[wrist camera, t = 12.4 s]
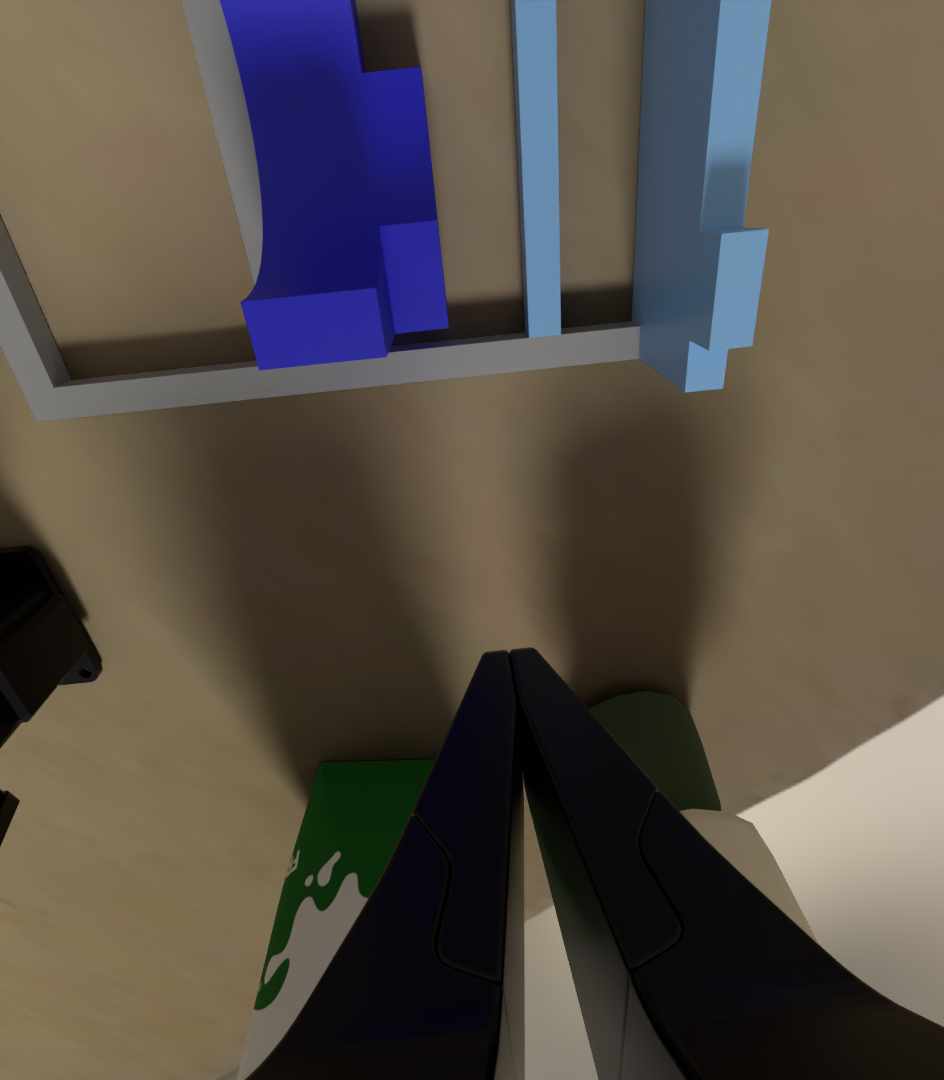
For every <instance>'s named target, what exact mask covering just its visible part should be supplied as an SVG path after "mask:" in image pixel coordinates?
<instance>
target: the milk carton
mask: <svg viewBox="0 0 944 1080" xmlns="http://www.w3.org/2000/svg"><path fill="white" fill-rule="evenodd" d="M434 761H435V759H426V760H386V761H345V762H320V764H319V767H318V771H317V774H316V778H315V781H314V785H313V788H312V791H311V795H310V798H309V801H308V805H307V808H306V811H305V815H304V818H303V821H302V825H301V828H300V831H299V834H298V838H297V841H296V844H295V848H294V851H293V854H292V858H291V861H290V864H289V868H288V871H287V874H286V878H285V881H284V885H283V889H282V892H281V897H280V901H279V905H278V909H277V913H276V917H275V922H274V926H273V930H272V934H271V938H270V943H269V947H268V951H267V955H266V959H265V964H264V968H263V972H262V976H261V981H260V985H259V989H258V993H257V997H256V1002H255V1006H254V1010H253V1014H252V1018H251V1023H250V1027H249V1031H248V1035H247V1040H246V1044H245V1048H244V1052H243V1056H242V1061H241V1065H240V1069H239V1073H238V1078H237V1080H244V1079H246V1078H247V1077H248V1076H249V1075H250V1074H251V1073H252V1072H253V1071H254V1070H255V1069H256V1068H257V1067H258V1066H259V1065H260V1064H261V1063H262V1062H263V1061H264V1059H265V1058H266V1057H267V1056H268V1055H269V1054H270V1053H271V1052H272V1050H273V1049H274V1048H275V1047H276V1045H277V1044H278V1043H279V1041H280V1040H281V1039H282V1038H283V1036H284V1035H285V1033H286V1032H287V1031H288V1029H289V1028H290V1026H291V1025H292V1024H293V1022H294V1021H295V1019H296V1017H297V1016H298V1014H299V1013H300V1011H301V1009H302V1008H303V1006H304V1005H305V1003H306V1001H307V1000H308V998H309V996H310V995H311V993H312V991H313V990H314V988H315V987H316V985H317V983H318V982H319V980H320V978H321V977H322V975H323V973H324V972H325V970H326V968H327V967H328V965H329V963H330V962H331V960H332V958H333V957H334V955H335V953H336V952H337V950H338V948H339V947H340V945H341V943H342V942H343V940H344V938H345V937H346V935H347V933H348V932H349V930H350V928H351V927H352V925H353V923H354V922H355V920H356V918H357V917H358V915H359V914H360V912H361V910H362V908H363V907H364V905H365V903H366V901H367V900H368V898H369V896H370V894H371V893H372V891H373V889H374V887H375V886H376V884H377V882H378V880H379V878H380V877H381V875H382V873H383V871H384V869H385V867H386V865H387V863H388V861H389V859H390V857H391V855H392V853H393V851H394V849H395V847H396V845H397V843H398V841H399V839H400V836H401V834H402V832H403V830H404V827H405V825H406V823H407V821H408V819H409V817H410V816H412V810H413V808H414V806H415V804H416V801H417V799H418V797H419V795H420V792H421V790H422V788H423V786H424V784H425V781H426V779H427V777H428V775H429V772H430V770H431V768H432V766H433V764H434Z"/></svg>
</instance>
